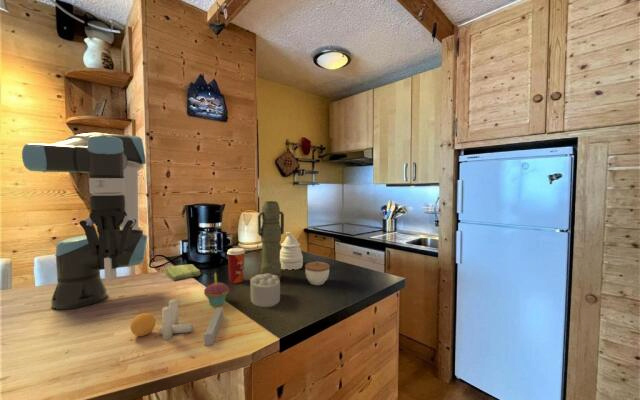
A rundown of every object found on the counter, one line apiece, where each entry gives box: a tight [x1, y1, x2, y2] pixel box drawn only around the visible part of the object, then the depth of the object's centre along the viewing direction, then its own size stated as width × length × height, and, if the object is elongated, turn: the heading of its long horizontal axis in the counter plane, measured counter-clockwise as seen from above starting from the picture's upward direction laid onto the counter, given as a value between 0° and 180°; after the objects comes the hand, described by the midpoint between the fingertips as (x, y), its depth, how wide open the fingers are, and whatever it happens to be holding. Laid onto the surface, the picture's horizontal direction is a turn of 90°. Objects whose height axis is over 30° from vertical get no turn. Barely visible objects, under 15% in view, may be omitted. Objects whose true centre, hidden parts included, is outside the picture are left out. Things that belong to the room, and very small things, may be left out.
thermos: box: [257, 200, 285, 280], centre depth 124 cm, size 9×12×35 cm
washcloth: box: [164, 263, 202, 281], centre depth 131 cm, size 13×18×3 cm
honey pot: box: [280, 231, 304, 271], centre depth 144 cm, size 13×13×18 cm
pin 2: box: [168, 298, 179, 325], centre depth 82 cm, size 2×2×8 cm
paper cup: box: [226, 247, 246, 284], centre depth 122 cm, size 8×8×14 cm
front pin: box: [158, 322, 194, 335], centre depth 80 cm, size 2×2×8 cm
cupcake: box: [203, 271, 230, 306], centre depth 99 cm, size 9×8×12 cm
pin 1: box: [161, 305, 173, 341], centre depth 77 cm, size 2×2×8 cm
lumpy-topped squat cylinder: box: [250, 273, 281, 308], centre depth 103 cm, size 10×13×9 cm
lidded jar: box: [304, 260, 331, 286], centre depth 121 cm, size 11×11×9 cm
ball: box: [130, 312, 157, 337], centre depth 78 cm, size 6×6×6 cm
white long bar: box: [203, 306, 224, 346], centre depth 81 cm, size 2×16×3 cm, turn 10°
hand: (110, 279), depth 76 cm, fingers closed
